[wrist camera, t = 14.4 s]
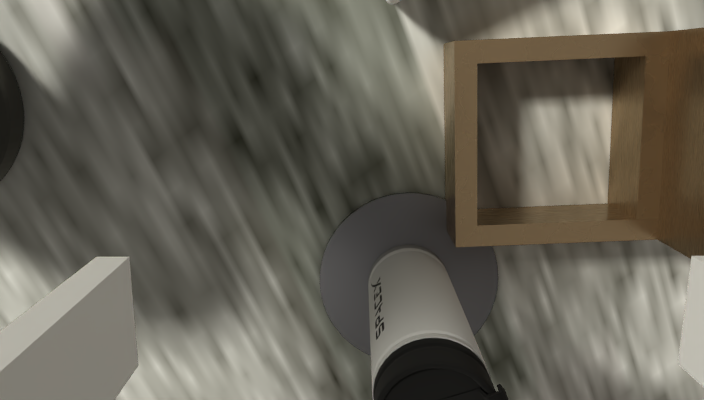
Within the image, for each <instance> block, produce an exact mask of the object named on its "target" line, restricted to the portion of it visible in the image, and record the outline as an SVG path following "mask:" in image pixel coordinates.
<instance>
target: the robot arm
mask: <svg viewBox="0 0 704 400" xmlns="http://www.w3.org/2000/svg"><path fill="white" fill-rule="evenodd" d="M23 127H24V111H23V103H22V98H21V94H20V90H19V87H18V84H17V81H16V79H15V76H14V74H13V72H12V70H11V68H10V66H9V64H8V62H7V61H6V59H5V58H4V56H3V55H2V53H1V52H0V180H1V179H2V178H3V177H4V176H5V175H6V173H7V172H8V170H9V169H10V167H11V166H12V164H13V162H14V160H15V158H16V156H17V154H18V151H19V148H20V144H21V141H22V135H23ZM678 364H679V365H680V366H681V367H682V368H683V369H684V370H685V371H686V372H687V373H688V374H689V375H691V376H692V377H693V378H694V379H695V380H696V381H697V382H698V383H699V384H700V385H701V386H703V387H704V256H691V264H690V272H689V280H688V288H687V296H686V304H685V311H684V319H683V327H682V335H681V343H680V351H679V359H678ZM137 367H138V354H137V342H136V330H135V318H134V306H133V294H132V282H131V270H130V258H129V257H95V258H94V259H93V260H92V261H90V262H89V263H88V264H86V265H85V266H84V267H82V268H81V269H80V270H79V271H77V272H76V273H75V274H73V275H72V276H71V277H70V278H68V279H67V280H66V281H64V282H63V283H62V284H61V285H59V286H58V287H57V288H55V289H54V290H53V291H51V292H50V293H49V294H48V295H46V296H45V297H44V298H42V299H41V300H40V301H39V302H37V303H36V304H35V305H33V306H32V307H31V308H30V309H28V310H27V311H26V312H24V313H23V314H22V315H20V316H19V317H18V318H17V319H15V320H14V321H13V322H11V323H10V324H9V325H8V326H6V327H5V328H4V329H2V330H1V331H0V400H115V398H116V397H117V396H118V394H119V393H120V391H121V390H122V388H123V387H124V385H125V384H126V383H127V381H128V380H129V378H130V377H131V375H132V374H133V372H134V371H135V369H136V368H137Z"/></svg>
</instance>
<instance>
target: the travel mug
mask: <svg viewBox="0 0 704 400" xmlns="http://www.w3.org/2000/svg"><path fill="white" fill-rule="evenodd" d="M368 291H369V319H370V347H371V375H372V398H373V400H508V397H507V395H506V392H505V389H504V388H503V387H502V386H501V385H500V384H499V385H497V387H498V390H499V391H498V392H496V391H495V389H494V386H493V383H492V381H491V377H490V373H489V371H488V369H487V366H486V364H485V361H484V359H483V357H482V354H481V352H480V349H479V347H478V345H477V342H476V340H475V337H474V335H473V333H472V330H471V328H470V325H469V323H468V321H467V318H466V316H465V314H464V311H463V309H462V306H461V304H460V302H459V299H458V297H457V294H456V292H455V290H454V287H453V285H452V283H451V280H450V278H449V276H448V273H447V271H446V268H445V266H444V264H443V262H442V261H441V260H440V258H439V257H438V256H437V255H436V254H434V253H433V252H432V251H430V250H428V249H427V248H424V247H421V246H418V245H411V244H410V245H400V246H396V247H393V248H391V249H389V250H387V251H386V252H384V253H383V254H381V255H380V256H379V258H378V259H377V260H376V261H375V263H374V264H373V266H372V268H371V270H370V273H369V279H368Z"/></svg>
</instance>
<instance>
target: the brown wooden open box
mask: <svg viewBox="0 0 704 400" xmlns="http://www.w3.org/2000/svg"><path fill="white" fill-rule="evenodd" d="M614 57H615V61H614V82H613V104H612V126H611V147H610V169H609V190H608V204H586V205H561V206H536V207H511V208H486V209H477V63H500V62H523V61H546V60H569V59H591V58H614ZM444 125H445V200H446V225H447V232H448V234H449V236H450V238H451V240H452V241H453V243H454V245H455V247H475V246H501V245H527V244H552V243H578V242H604V241H630V240H655V239H657V240H659V241H661V242H663V243H664V244H666V245H668V246H670V247H671V248H673V249H675V250H677V251H678V252H680V253H682V254H683V255H685V256H687V257H689V258H690V259H691V256H704V28H696V29H687V30H678V31H667V32H644V33H622V34H599V35H577V36H554V37H532V38H509V39H487V40H464V41H452V42H448V43H445V44H444Z"/></svg>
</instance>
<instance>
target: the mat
mask: <svg viewBox="0 0 704 400" xmlns="http://www.w3.org/2000/svg"><path fill="white" fill-rule="evenodd" d="M410 244H411V245H418V246H421V247H424V248H427V249H428V250H430V251H432V252H433V253H434V254H436V255H437V256H438V257H439V258H440V260H441V261H442V262H443V264H444V266H445V268H446V271H447V273H448V276H449V278H450V280H451V283H452V285H453V287H454V290H455V292H456V294H457V297H458V299H459V302H460V304H461V306H462V309H463V311H464V314H465V316H466V318H467V321H468V323H469V325H470V328H471V330H472V333H473V335H475V334H476V333H477V331H478V330H479V329H480V328H481V326H482V325H483V324H484V322H485V321H486V319H487V317H488V315H489V313H490V311H491V309H492V307H493V304H494V301H495V297H496V293H497V287H498V267H497V262H496V257H495V254H494V251H493V248H492V246H475V247H455V245H454V243H453V241H452V240H451V238H450V236H449V234H448V232H447V225H446V200H444V199H442V198H439V197H436V196H432V195H428V194H421V193H399V194H392V195H388V196H384V197H381V198H378V199H375V200H373V201H370V202H369V203H367V204H365V205H363V206H361V207H360V208H358V209H357V210H355V211H354V212H353V213H351V214H350V215H349V216H348V217H347V218H346V219H345V220H344V221H343V222H342V223H341V224H340V226H339V227H338V228H337V229H336V231H335V232H334V234H333V235H332V237H331V239H330V240H329V243H328V245H327V247H326V249H325V252H324V256H323V259H322V264H321V271H320V289H321V296H322V300H323V304H324V307H325V309H326V312H327V314H328V316H329V318H330V320H331V321H332V323H333V325H334V326H335V327H336V329H337V330H338V331H339V333H340V334H341V335H342V336H343V337H344V338H345V339H346V340H347V341H348V342H349V343H351V344H352V345H353V346H355V347H356V348H357V349H359V350H361V351H363V352H365V353H366V354H368V355H371V347H370V319H369V291H368V279H369V273H370V270H371V268H372V266H373V264H374V263H375V261H376V260H377V259H378V258H379V256H380V255H381V254H383V253H384V252H386V251H387V250H389V249H391V248H393V247H396V246H400V245H410Z"/></svg>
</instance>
